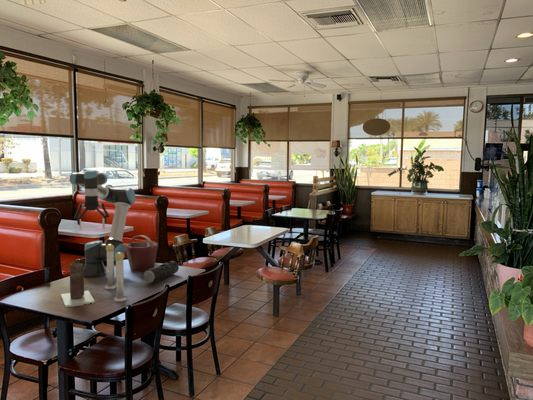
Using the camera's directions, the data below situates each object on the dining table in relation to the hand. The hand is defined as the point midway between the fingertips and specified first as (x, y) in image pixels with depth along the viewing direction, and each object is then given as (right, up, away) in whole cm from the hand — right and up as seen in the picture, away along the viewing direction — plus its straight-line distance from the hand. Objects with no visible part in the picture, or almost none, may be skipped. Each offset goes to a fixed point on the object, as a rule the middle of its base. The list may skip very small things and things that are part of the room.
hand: (92, 229), depth 263 cm
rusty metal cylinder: (0, -38, -21) cm, 43 cm away
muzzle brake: (+38, -36, +21) cm, 56 cm away
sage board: (0, -39, -21) cm, 44 cm away
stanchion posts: (+18, -38, -10) cm, 43 cm away
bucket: (+18, -33, +47) cm, 60 cm away
